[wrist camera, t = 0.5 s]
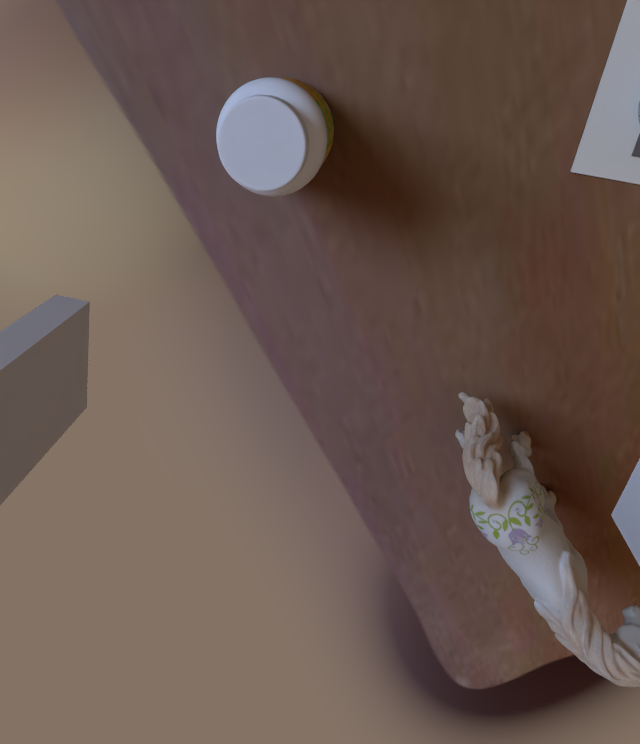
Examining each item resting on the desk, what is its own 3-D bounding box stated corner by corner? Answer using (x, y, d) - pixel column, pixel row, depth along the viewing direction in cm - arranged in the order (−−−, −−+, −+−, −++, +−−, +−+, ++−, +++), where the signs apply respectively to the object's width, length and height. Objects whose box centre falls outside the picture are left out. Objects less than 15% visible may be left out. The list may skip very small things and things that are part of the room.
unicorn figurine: (572, 580, 48) (640, 746, 36) (392, 436, 44) (401, 571, 32) (649, 528, 45) (750, 688, 33) (465, 369, 41) (505, 488, 29)
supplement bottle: (353, 140, 35) (347, 160, 27) (280, 196, 37) (252, 231, 28) (297, 57, 34) (271, 47, 25) (224, 118, 35) (175, 130, 27)
